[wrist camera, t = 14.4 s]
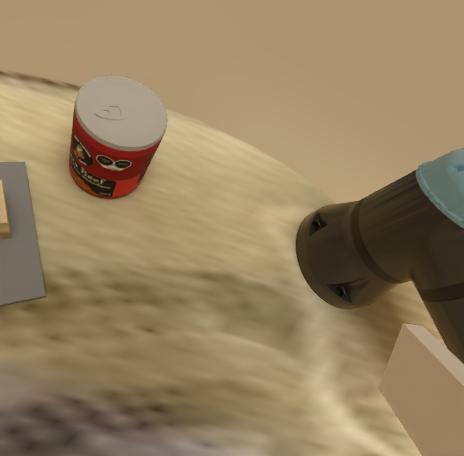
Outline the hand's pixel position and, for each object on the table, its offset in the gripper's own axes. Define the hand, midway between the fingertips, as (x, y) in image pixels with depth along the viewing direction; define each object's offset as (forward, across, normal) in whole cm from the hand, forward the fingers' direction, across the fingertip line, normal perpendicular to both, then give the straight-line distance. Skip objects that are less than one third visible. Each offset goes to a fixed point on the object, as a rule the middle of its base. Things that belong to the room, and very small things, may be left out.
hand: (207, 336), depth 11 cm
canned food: (+31, +11, +1) cm, 33 cm away
